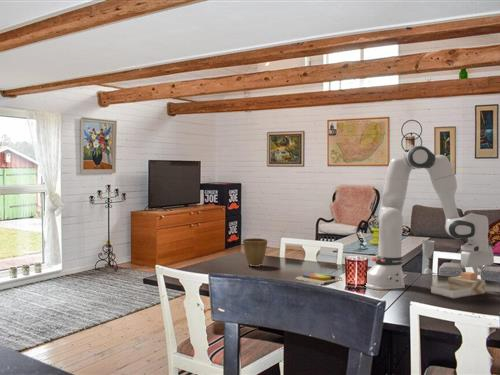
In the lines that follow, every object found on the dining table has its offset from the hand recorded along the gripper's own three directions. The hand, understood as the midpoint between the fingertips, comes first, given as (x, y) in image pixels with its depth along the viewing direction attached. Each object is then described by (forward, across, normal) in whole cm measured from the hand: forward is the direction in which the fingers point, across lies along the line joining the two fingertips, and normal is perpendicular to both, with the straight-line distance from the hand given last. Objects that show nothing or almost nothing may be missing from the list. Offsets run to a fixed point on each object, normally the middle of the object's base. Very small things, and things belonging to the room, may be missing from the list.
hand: (477, 275), depth 226 cm
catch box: (+7, +19, 0) cm, 21 cm away
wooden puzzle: (+8, +54, -53) cm, 76 cm away
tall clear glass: (+7, -13, -40) cm, 42 cm away
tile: (+1, +6, 0) cm, 6 cm away
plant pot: (+8, +64, -103) cm, 122 cm away
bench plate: (+7, +8, 0) cm, 11 cm away
